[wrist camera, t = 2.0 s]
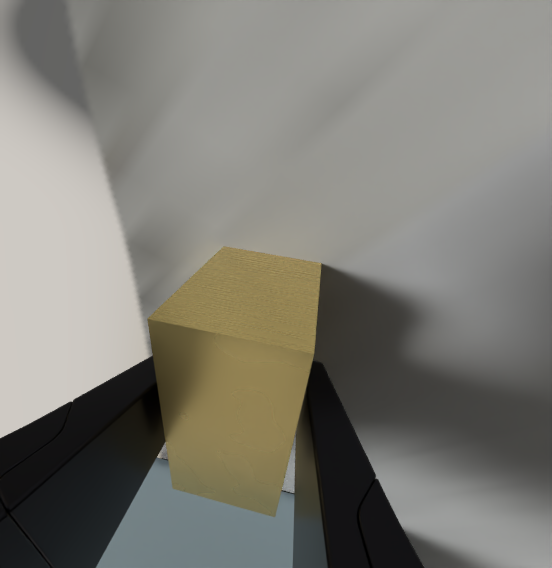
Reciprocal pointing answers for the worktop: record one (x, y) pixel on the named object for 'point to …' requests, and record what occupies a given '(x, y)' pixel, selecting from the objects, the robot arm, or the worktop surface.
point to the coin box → (197, 531)
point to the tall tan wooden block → (235, 374)
